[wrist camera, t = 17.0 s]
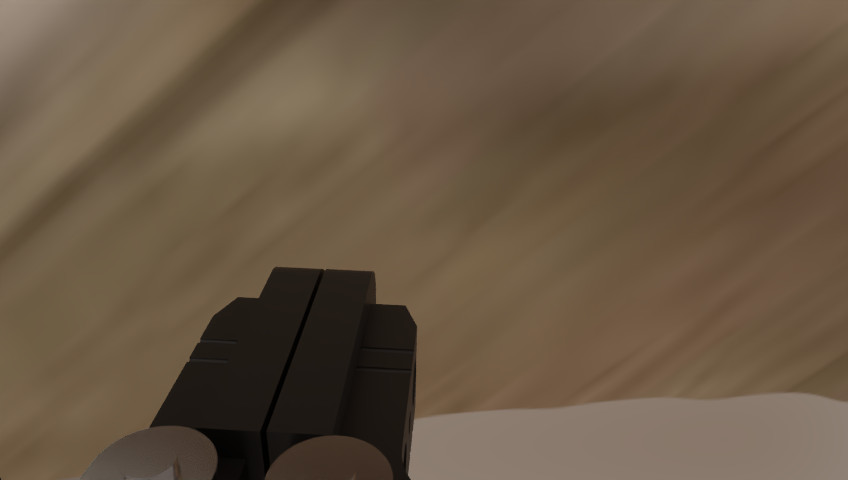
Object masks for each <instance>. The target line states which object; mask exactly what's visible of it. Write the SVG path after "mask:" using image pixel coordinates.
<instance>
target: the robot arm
mask: <svg viewBox="0 0 848 480" xmlns="http://www.w3.org/2000/svg"><path fill="white" fill-rule="evenodd" d="M200 339H201V340H200V343H198V344H197V345H196V347H195V349H194V351H193V352H192V354H191V356H190V361H189V362H187V363H186V364H185V366H184V368H183V370H182V371H181V373H180V375H179V377H178V378H177V380H176V382H175V384H174V385H173V387H172V389H171V391H170V392H169V394H168V396H167V398H166V399H165V401H164V403H163V405H162V406H161V408H160V410H159V411H158V413H157V415H156V417H155V418H154V420H153V422H152V424H151V425H150V427H149V428H147V429H143V430H140V431H136V432H134V433H132V434H129V435H127V436H125V437H123V438H121V439H119V440H117V441H115V442H114V443H112V444H111V445H110V446H108V447H107V448H105V449H104V450H103V451H102V452H101V453H100V454H99V455H98V456H97V457H96V458H95V459H94V460H93V462H92V463H91V464H90V465H89V467H88V468H87V470H86V471H85V472H84V474H83V475H82V476H81V478H80V479H79V480H411V479H410V478H409V476H408V470H409V460H410V451H411V441H412V431H413V423H414V413H415V396H416V346H417V326H416V324H415V322H414V320H413V318H412V317H411V315H410V313H409V311H408V309H407V308H406V306H403V305H383V304H376V282H375V273H374V272H373V271H353V270H333V269H326V270H325V271H324V270H323V269H309V268H289V267H275V268H274V269H273V271H272V272H271V274H270V276H269V278H268V280H267V283H266V285H265V287H264V289H263V291H262V293H261V295H260V297H259V298H243V297H238V298H236V299H235V300H234V301H232V302H231V303H230V304H229V305H227V306H226V307H225V308H223V309H222V310H221V311H219V312H218V313H217V314H215V315H214V316H213V317H212V319H211V321H210V323H209V324H208V326H207V328H206V330H205V331H204V333H203V335H202V337H201V338H200ZM0 480H1V478H0Z"/></svg>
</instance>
